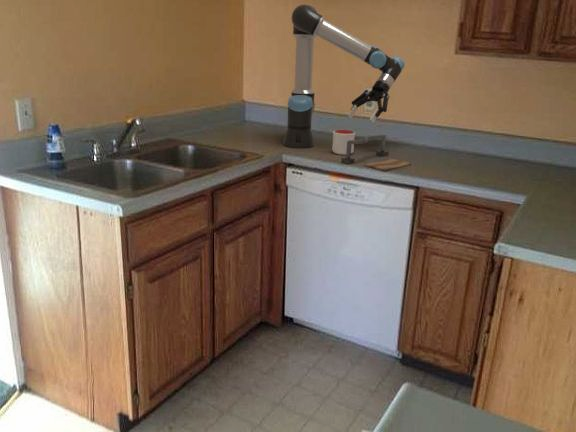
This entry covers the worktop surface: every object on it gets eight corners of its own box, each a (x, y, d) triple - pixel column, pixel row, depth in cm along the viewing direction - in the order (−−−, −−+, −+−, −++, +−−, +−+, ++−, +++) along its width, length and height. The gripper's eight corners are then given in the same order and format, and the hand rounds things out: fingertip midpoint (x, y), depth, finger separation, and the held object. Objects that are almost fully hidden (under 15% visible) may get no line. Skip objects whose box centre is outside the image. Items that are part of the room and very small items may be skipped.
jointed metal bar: (340, 162, 239) (342, 140, 235) (380, 153, 256) (382, 133, 253) (348, 164, 235) (350, 142, 232) (388, 155, 253) (390, 135, 250)
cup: (352, 156, 250) (353, 134, 247) (330, 154, 252) (332, 133, 248) (354, 151, 259) (355, 130, 256) (333, 149, 261) (334, 129, 258)
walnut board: (364, 166, 234) (364, 164, 234) (390, 160, 246) (390, 158, 245) (385, 171, 226) (385, 169, 226) (410, 165, 238) (410, 163, 238)
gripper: (406, 93, 256) (383, 128, 251) (366, 87, 273) (343, 120, 268) (401, 82, 251) (377, 118, 246) (360, 77, 268) (337, 110, 263)
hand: (360, 119), depth 257 cm, fingers open, 13 cm apart
